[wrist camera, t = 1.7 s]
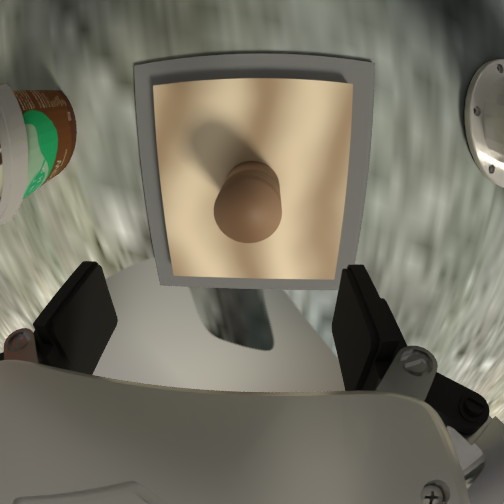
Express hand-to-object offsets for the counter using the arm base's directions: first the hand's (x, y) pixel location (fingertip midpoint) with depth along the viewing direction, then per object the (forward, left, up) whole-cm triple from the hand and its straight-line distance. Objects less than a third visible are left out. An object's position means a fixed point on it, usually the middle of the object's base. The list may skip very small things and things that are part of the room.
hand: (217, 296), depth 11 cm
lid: (-1, 0, -14) cm, 14 cm away
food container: (+17, -4, -15) cm, 23 cm away
